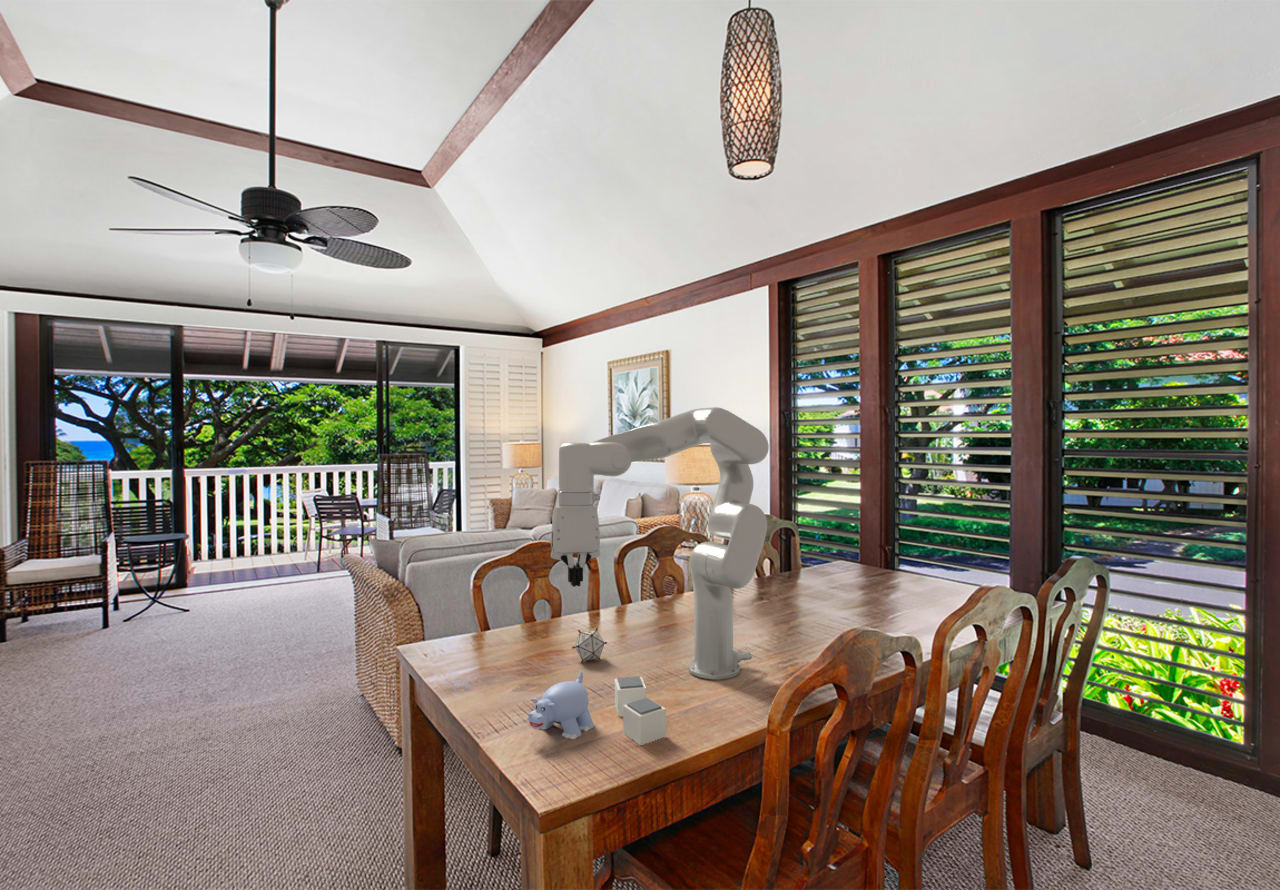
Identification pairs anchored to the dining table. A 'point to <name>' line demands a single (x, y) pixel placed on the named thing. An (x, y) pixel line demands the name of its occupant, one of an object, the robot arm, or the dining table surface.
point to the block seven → (644, 721)
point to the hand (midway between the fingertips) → (575, 584)
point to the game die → (589, 645)
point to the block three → (628, 691)
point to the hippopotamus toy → (563, 708)
